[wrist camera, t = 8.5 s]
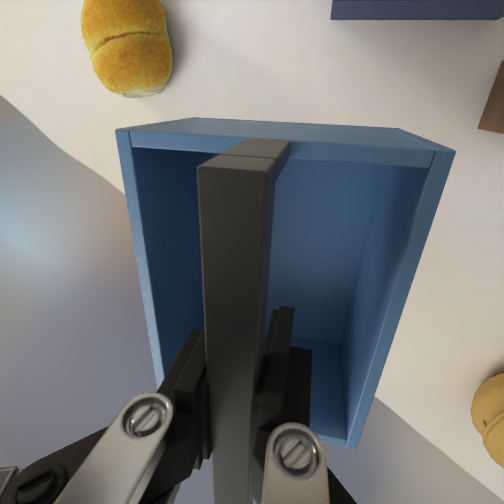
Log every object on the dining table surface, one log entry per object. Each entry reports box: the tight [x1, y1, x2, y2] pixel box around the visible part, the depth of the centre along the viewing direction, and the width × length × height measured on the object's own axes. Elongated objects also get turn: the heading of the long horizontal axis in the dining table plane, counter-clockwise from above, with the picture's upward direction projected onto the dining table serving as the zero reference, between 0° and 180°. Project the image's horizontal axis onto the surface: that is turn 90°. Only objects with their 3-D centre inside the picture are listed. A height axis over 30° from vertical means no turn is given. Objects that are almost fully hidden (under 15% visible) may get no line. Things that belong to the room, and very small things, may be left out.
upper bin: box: [115, 117, 456, 504], centre depth 12 cm, size 13×10×11 cm
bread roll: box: [81, 0, 173, 98], centre depth 27 cm, size 8×9×4 cm
